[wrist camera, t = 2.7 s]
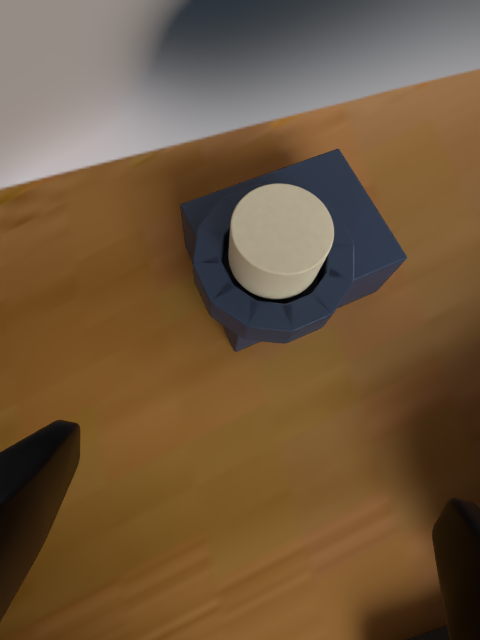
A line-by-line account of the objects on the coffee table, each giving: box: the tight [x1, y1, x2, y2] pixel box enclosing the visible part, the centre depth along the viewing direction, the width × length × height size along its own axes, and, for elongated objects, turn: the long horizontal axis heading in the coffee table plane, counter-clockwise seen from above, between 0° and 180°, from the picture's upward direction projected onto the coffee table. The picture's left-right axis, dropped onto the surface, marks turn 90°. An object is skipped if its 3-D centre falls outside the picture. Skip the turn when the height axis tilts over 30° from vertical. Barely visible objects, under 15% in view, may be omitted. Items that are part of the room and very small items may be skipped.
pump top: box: [228, 183, 334, 299], centre depth 18 cm, size 4×4×3 cm
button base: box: [180, 149, 407, 352], centre depth 22 cm, size 10×8×6 cm
